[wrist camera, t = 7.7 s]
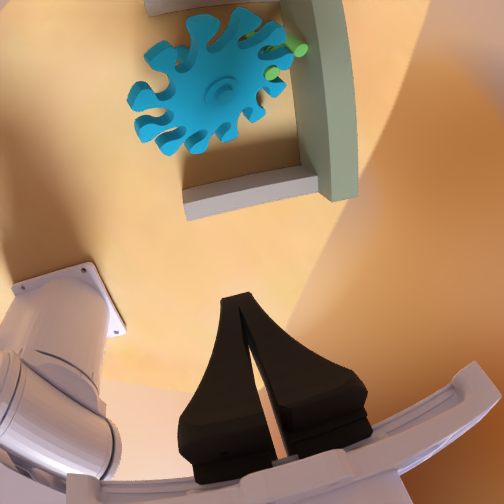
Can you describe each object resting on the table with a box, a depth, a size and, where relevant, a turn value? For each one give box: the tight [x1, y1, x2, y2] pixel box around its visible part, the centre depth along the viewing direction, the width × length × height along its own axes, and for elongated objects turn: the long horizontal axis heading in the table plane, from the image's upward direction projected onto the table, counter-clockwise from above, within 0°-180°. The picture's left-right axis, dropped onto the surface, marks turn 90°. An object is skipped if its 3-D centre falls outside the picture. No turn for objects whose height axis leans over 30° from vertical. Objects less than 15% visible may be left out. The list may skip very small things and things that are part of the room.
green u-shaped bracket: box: [144, 0, 358, 221], centre depth 16 cm, size 11×15×5 cm
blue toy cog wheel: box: [127, 7, 308, 156], centre depth 15 cm, size 11×6×10 cm
